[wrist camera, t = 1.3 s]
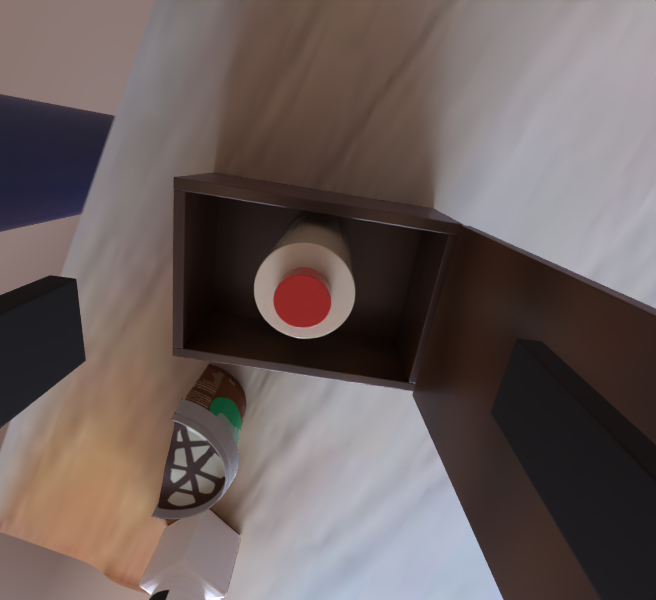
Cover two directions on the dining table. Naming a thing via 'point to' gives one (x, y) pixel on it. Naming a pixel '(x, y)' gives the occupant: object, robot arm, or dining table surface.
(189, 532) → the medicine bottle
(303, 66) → the dining table surface
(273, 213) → the open box
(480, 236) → the lid
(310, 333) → the bottle
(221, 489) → the food container
